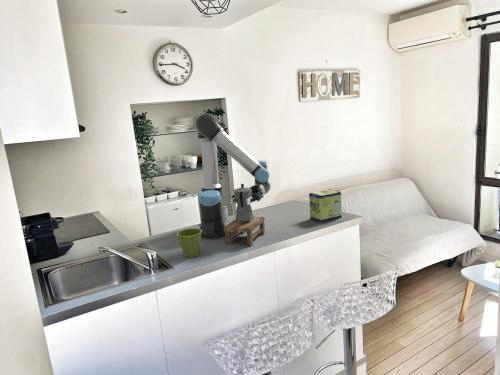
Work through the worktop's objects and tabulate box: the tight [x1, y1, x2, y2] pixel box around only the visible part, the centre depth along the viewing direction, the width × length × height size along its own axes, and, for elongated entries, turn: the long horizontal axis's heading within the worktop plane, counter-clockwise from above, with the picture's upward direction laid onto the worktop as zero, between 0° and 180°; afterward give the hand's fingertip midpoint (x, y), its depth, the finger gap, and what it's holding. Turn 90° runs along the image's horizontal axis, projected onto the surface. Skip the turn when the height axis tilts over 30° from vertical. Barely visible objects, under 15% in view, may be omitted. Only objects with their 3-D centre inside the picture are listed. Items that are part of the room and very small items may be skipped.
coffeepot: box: [233, 183, 255, 221], centre depth 191 cm, size 15×9×18 cm, turn 175°
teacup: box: [222, 205, 229, 222], centre depth 233 cm, size 14×11×8 cm
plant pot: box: [175, 227, 202, 258], centre depth 177 cm, size 12×12×11 cm
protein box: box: [308, 188, 343, 223], centre depth 219 cm, size 10×16×16 cm
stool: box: [224, 216, 266, 247], centre depth 195 cm, size 14×20×9 cm
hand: (239, 202), depth 187 cm, fingers closed on coffeepot, 8 cm apart
